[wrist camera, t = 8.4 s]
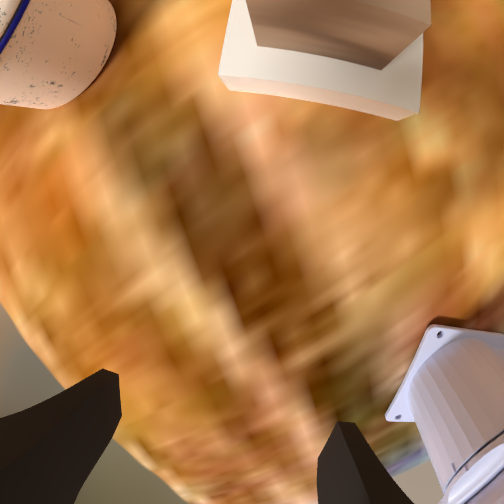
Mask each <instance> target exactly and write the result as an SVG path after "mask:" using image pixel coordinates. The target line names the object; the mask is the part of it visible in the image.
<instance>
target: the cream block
mask: <svg viewBox="0 0 504 504" xmlns="http://www.w3.org/2000/svg"><path fill="white" fill-rule="evenodd" d="M422 66H423V33H422V34H421V35H420V36H419V37H418V38H416V39H415V40H414V41H413V42H412V43H411V44H410V45H409V46H408V47H406V48H405V49H404V50H403V51H402V52H401V53H400V54H399V55H398V56H397V57H395V58H394V59H393V60H392V61H391V62H390V63H389V64H388V65H387V66H386V67H385V68H384V69H382V70H378V69H374V68H370V67H367V66H363V65H359V64H355V63H351V62H347V61H342V60H338V59H333V58H329V57H324V56H319V55H314V54H308V53H302V52H297V51H290V50H284V49H276V48H269V47H260V46H257V43H256V39H255V35H254V31H253V27H252V23H251V19H250V15H249V12H248V8H247V4H246V0H233V1H232V5H231V10H230V15H229V20H228V24H227V29H226V34H225V40H224V45H223V50H222V55H221V61H220V66H219V72H218V76H219V77H220V78H221V80H222V81H223V82H224V84H225V85H226V87H227V88H228V89H229V90H231V91H242V92H251V93H260V94H267V95H275V96H282V97H289V98H295V99H301V100H307V101H312V102H318V103H323V104H328V105H333V106H338V107H343V108H347V109H352V110H356V111H360V112H364V113H369V114H373V115H377V116H380V117H384V118H388V119H392V120H395V121H398V120H401V119H404V118H407V117H410V116H412V115H415V114H418V113H419V110H420V99H421V85H422Z"/></svg>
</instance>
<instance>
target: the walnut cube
mask: <svg viewBox="0 0 504 504" xmlns="http://www.w3.org/2000/svg"><path fill="white" fill-rule="evenodd" d="M246 4H247V8H248V12H249V15H250V19H251V23H252V27H253V31H254V35H255V39H256V43H257V46H260V47H269V48H276V49H284V50H290V51H297V52H302V53H308V54H314V55H319V56H324V57H329V58H333V59H338V60H342V61H347V62H351V63H355V64H359V65H363V66H367V67H370V68H374V69H378V70H382V69H384V68H385V67H386V66H387V65H388V64H389V63H390V62H391V61H392V60H393V59H394V58H395V57H397V56H398V55H399V54H400V53H401V52H402V51H403V50H404V49H405V48H406V47H408V46H409V45H410V44H411V43H412V42H413V41H414V40H415V39H416V38H418V37H419V36H420V35H421V34H422V33H423V32H424V31H425V30H426V29H428V28H429V27H430V26H431V0H246Z"/></svg>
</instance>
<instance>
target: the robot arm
mask: <svg viewBox="0 0 504 504" xmlns="http://www.w3.org/2000/svg"><path fill="white" fill-rule="evenodd" d="M440 331H441V333H440V334H439V335H437V334H438V332H440ZM397 415H398V416H397ZM121 416H122V412H121V401H120V389H119V374H116V373H114V372H111V371H108V370H105V369H101V370H99V371H98V372H96V373H94V374H92V375H91V376H89V377H87V378H85V379H84V380H82V381H80V382H79V383H77V384H75V385H73V386H72V387H70V388H68V389H66V390H64V391H63V392H61V393H59V394H57V395H55V396H53V397H51V398H50V399H47V400H45V401H43V402H41V403H39V404H37V405H35V406H32V407H30V408H28V409H25V410H23V411H20V412H18V413H15V414H12V415H9V416H6V417H3V418H0V504H74V502H75V500H76V497H77V495H78V493H79V491H80V489H81V487H82V486H83V484H84V482H85V480H86V479H87V477H88V476H89V474H90V472H91V470H92V469H93V468H94V466H95V464H96V463H97V461H98V460H99V458H100V457H101V455H102V453H103V452H104V450H105V448H106V447H107V445H108V444H109V442H110V440H111V439H112V437H113V434H114V432H115V430H116V428H117V426H118V423H119V421H120V419H121ZM385 418H386V420H387V421H396V422H416V425H417V427H418V430H419V432H420V434H421V437H422V439H423V442H424V444H425V447H426V449H427V452H428V454H429V457H430V459H431V462H432V464H433V467H434V470H435V472H436V475H437V478H438V480H439V483H440V486H441V489H442V492H443V494H444V497H443V498H442V499H441V500H440V501H439V502H438V503H437V504H504V334H503V333H495V332H487V331H479V330H472V329H465V328H458V327H451V326H444V325H437V324H432V325H430V326H429V327H428V328H427V329H426V331H425V334H424V336H423V338H422V341H421V343H420V345H419V348H418V350H417V352H416V354H415V356H414V359H413V361H412V363H411V365H410V367H409V369H408V371H407V373H406V375H405V378H404V380H403V382H402V384H401V386H400V387H399V389H398V391H397V393H396V395H395V397H394V399H393V401H392V403H391V405H390V406H389V408H388V410H387V412H386V414H385ZM317 493H318V504H414V503H413V502H412V501H411V500H410V499H409V498H408V497H407V496H406V494H405V493H404V492H403V491H402V490H401V488H400V487H399V486H398V485H397V484H396V482H395V481H394V480H393V479H392V477H391V476H390V475H389V473H388V472H387V471H386V469H385V468H384V466H383V465H382V464H381V462H380V461H379V459H378V458H377V456H376V455H375V453H374V452H373V450H372V449H371V447H370V446H369V444H368V443H367V441H366V440H365V438H364V436H363V435H362V433H361V432H360V430H359V429H358V427H357V426H356V424H355V423H351V422H339V421H337V423H336V425H335V427H334V429H333V431H332V433H331V435H330V437H329V439H328V441H327V442H326V444H325V446H324V448H323V450H322V452H321V454H320V455H319V457H318V467H317Z"/></svg>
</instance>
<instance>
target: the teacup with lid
mask: <svg viewBox="0 0 504 504" xmlns="http://www.w3.org/2000/svg"><path fill="white" fill-rule="evenodd" d="M116 28H117V22H116V15H115V11H114V8H113V7H112V5H111V3H110V2H109V1H108V0H0V104H5V105H14V106H22V107H30V108H37V109H52V108H56V107H59V106H62V105H64V104H66V103H68V102H70V101H71V100H73V99H74V98H76V97H77V96H78V95H80V94H81V93H82V92H83V91H84V90H85V89H86V88H87V87H88V86H89V85H90V84H91V83H92V82H93V80H94V79H95V78H96V77H97V75H98V74H99V72H100V71H101V69H102V68H103V66H104V65H105V63H106V61H107V59H108V57H109V55H110V52H111V50H112V47H113V44H114V40H115V36H116Z"/></svg>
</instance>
